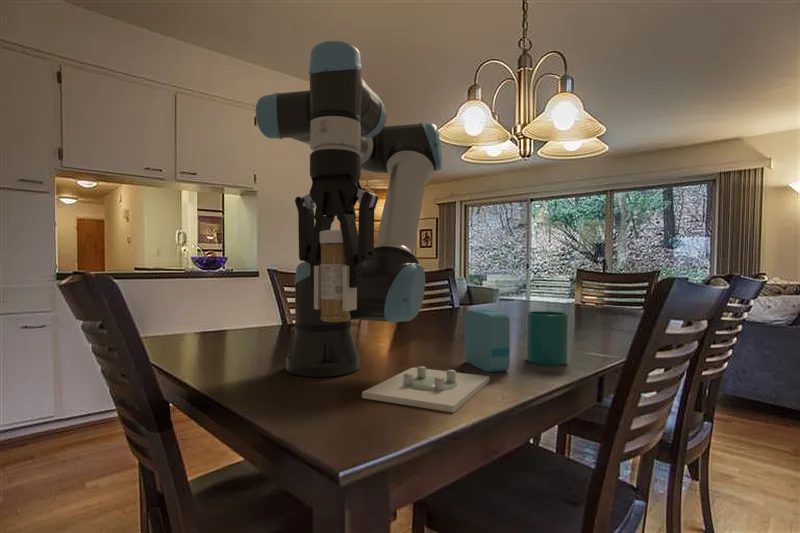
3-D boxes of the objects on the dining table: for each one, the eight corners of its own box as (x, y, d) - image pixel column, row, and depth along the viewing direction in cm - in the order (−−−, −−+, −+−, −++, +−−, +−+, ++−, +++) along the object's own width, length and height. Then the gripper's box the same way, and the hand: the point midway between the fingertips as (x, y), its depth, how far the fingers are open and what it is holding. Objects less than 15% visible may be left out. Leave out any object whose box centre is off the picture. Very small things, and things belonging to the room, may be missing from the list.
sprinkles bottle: (346, 318, 70) (346, 231, 70) (353, 321, 66) (353, 230, 66) (317, 319, 69) (317, 231, 69) (322, 323, 65) (322, 229, 64)
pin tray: (362, 397, 75) (362, 379, 75) (412, 372, 92) (412, 357, 92) (453, 412, 67) (454, 392, 67) (489, 381, 85) (489, 365, 85)
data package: (509, 372, 93) (510, 314, 93) (490, 374, 92) (490, 315, 91) (482, 360, 104) (482, 308, 104) (464, 361, 103) (464, 309, 103)
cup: (542, 354, 111) (542, 309, 111) (576, 365, 100) (577, 314, 100) (511, 357, 108) (511, 310, 108) (542, 368, 97) (543, 315, 97)
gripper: (272, 153, 68) (273, 308, 68) (374, 140, 60) (373, 315, 60) (304, 163, 74) (304, 304, 75) (399, 152, 67) (398, 309, 67)
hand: (335, 308), depth 68 cm, fingers closed on sprinkles bottle, 4 cm apart
